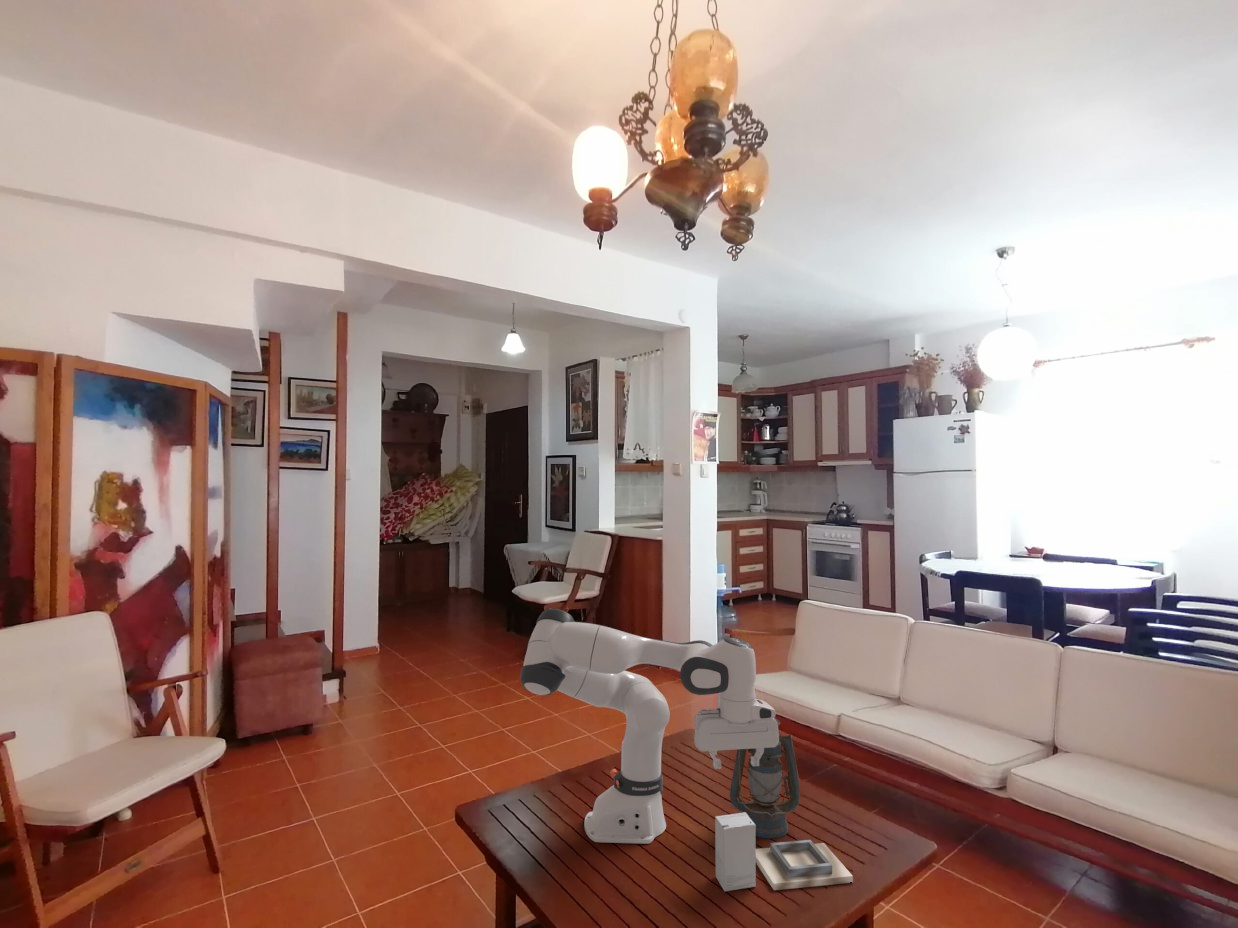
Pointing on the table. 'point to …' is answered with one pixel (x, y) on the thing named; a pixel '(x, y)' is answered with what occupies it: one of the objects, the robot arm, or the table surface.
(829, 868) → the board
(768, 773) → the lantern
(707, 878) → the table surface
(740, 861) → the skincare box
